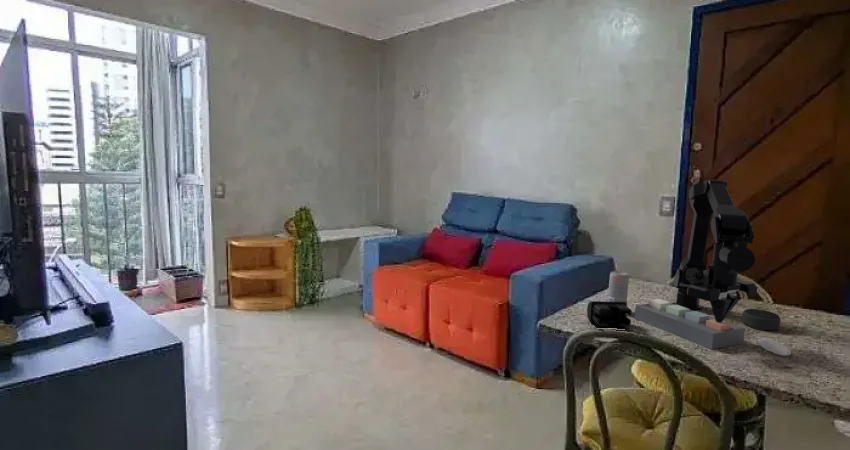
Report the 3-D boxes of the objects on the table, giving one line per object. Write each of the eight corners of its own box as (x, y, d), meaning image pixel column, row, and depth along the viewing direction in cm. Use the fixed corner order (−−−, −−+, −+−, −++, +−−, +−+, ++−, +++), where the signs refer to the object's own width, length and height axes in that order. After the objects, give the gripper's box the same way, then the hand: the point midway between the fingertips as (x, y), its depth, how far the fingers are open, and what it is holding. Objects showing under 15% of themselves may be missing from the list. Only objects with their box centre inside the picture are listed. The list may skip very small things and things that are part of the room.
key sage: (675, 313, 136) (676, 304, 136) (688, 317, 133) (689, 308, 132) (665, 314, 135) (666, 306, 134) (678, 319, 131) (679, 310, 131)
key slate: (694, 319, 131) (695, 311, 131) (708, 324, 127) (709, 315, 127) (684, 321, 129) (685, 312, 129) (698, 326, 126) (699, 317, 125)
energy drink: (622, 309, 149) (625, 271, 147) (628, 314, 143) (631, 275, 142) (604, 308, 149) (608, 270, 148) (609, 313, 144) (613, 274, 142)
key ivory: (658, 306, 142) (658, 298, 141) (669, 310, 138) (670, 302, 138) (648, 308, 140) (649, 300, 140) (659, 312, 137) (660, 303, 136)
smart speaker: (776, 324, 138) (778, 311, 138) (781, 334, 131) (783, 320, 130) (739, 319, 142) (741, 306, 142) (743, 328, 135) (744, 314, 134)
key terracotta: (715, 328, 126) (716, 318, 125) (730, 333, 122) (731, 323, 122) (705, 329, 124) (706, 320, 124) (719, 335, 120) (721, 325, 120)
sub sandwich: (782, 359, 114) (784, 348, 114) (753, 346, 122) (755, 335, 121) (793, 358, 115) (795, 347, 114) (764, 345, 122) (765, 334, 122)
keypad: (663, 314, 145) (665, 301, 144) (743, 343, 123) (745, 328, 122) (634, 318, 140) (635, 305, 139) (711, 349, 118) (713, 333, 118)
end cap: (620, 321, 137) (622, 299, 136) (631, 330, 130) (633, 306, 129) (585, 321, 137) (587, 298, 136) (595, 330, 130) (597, 306, 129)
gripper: (720, 254, 131) (713, 309, 134) (671, 258, 124) (665, 316, 126) (762, 262, 121) (754, 321, 124) (712, 267, 114) (704, 330, 116)
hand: (718, 322), depth 123 cm, fingers closed, pressing on key terracotta
